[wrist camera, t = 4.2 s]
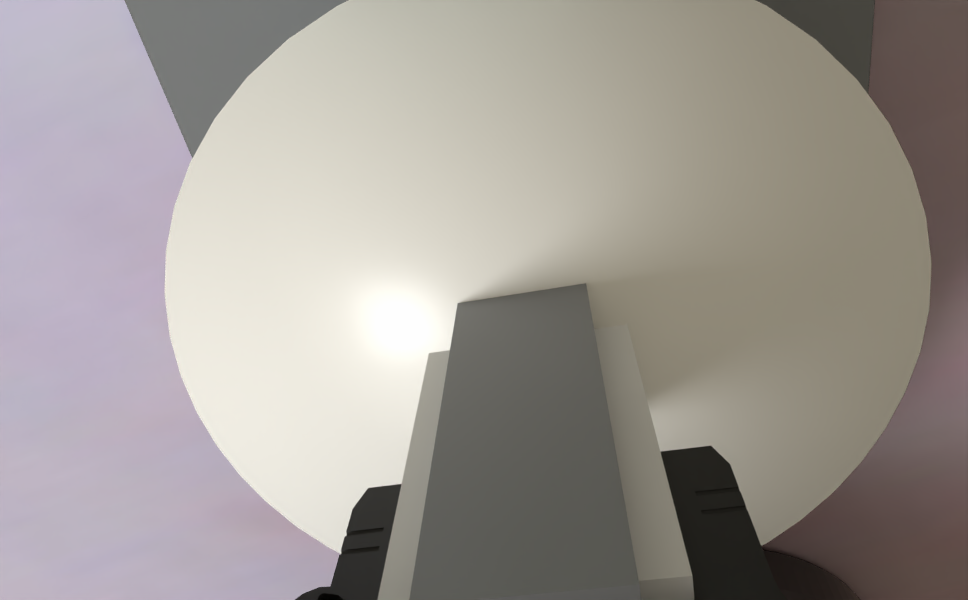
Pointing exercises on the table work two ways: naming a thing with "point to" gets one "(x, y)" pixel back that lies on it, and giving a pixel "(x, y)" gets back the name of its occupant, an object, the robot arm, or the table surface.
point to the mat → (297, 3)
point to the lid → (544, 271)
